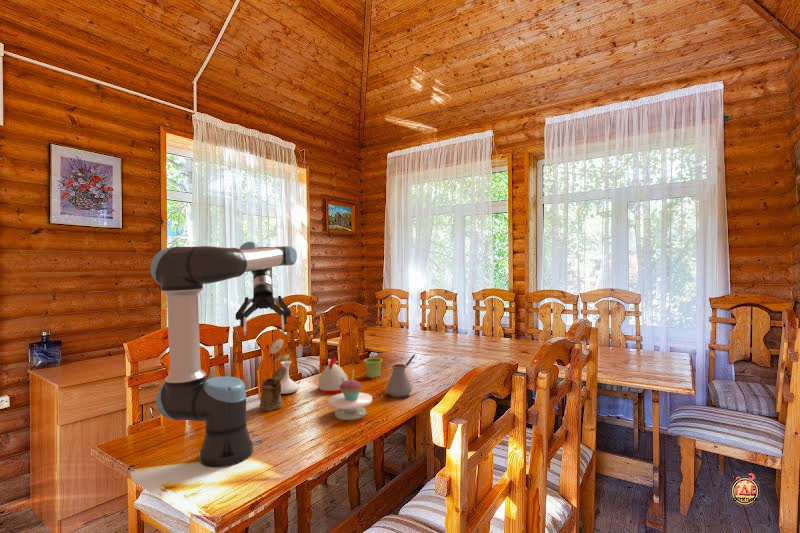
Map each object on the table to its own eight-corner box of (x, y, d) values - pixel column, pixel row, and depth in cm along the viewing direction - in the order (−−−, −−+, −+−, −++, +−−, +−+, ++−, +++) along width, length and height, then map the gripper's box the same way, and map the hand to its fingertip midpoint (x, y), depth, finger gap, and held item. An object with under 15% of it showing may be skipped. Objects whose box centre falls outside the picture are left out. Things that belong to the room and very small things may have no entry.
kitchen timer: (351, 385, 198) (351, 354, 198) (343, 394, 185) (342, 361, 185) (324, 384, 201) (323, 353, 201) (313, 393, 187) (313, 360, 187)
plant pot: (382, 379, 208) (381, 362, 208) (363, 379, 208) (363, 362, 208) (383, 374, 217) (382, 357, 217) (365, 374, 218) (364, 358, 218)
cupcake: (366, 398, 161) (365, 367, 160) (349, 404, 154) (349, 372, 154) (352, 393, 166) (351, 364, 166) (335, 399, 160) (334, 368, 160)
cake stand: (360, 425, 149) (360, 408, 149) (319, 419, 155) (319, 403, 155) (379, 409, 165) (379, 394, 165) (342, 404, 171) (341, 390, 171)
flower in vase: (291, 386, 198) (290, 334, 198) (304, 391, 190) (302, 337, 190) (265, 393, 189) (264, 338, 189) (277, 398, 181) (276, 341, 181)
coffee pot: (404, 400, 175) (403, 365, 175) (381, 396, 181) (380, 362, 181) (426, 387, 194) (426, 355, 194) (405, 383, 199) (404, 352, 199)
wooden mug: (274, 415, 161) (273, 369, 161) (255, 408, 170) (254, 364, 169) (293, 409, 168) (292, 364, 167) (274, 402, 176) (273, 360, 176)
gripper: (294, 294, 175) (298, 335, 161) (230, 296, 167) (228, 340, 153) (295, 282, 170) (299, 323, 155) (229, 284, 162) (227, 328, 147)
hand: (264, 331), depth 154 cm, fingers open, 13 cm apart
